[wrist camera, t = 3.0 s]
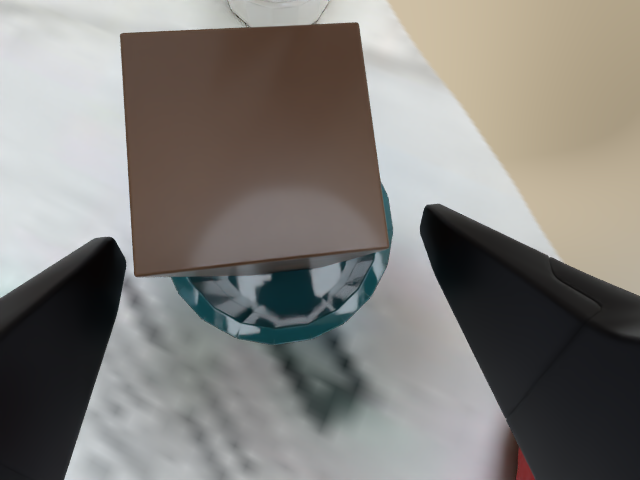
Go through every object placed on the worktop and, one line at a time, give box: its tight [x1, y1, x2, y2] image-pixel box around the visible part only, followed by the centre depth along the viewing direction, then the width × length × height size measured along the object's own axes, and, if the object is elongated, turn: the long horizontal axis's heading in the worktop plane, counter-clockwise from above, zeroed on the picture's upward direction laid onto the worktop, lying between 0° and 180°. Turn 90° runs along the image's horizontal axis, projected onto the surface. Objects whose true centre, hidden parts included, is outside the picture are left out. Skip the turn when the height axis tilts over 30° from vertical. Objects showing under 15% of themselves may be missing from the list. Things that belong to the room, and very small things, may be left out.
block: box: [120, 22, 389, 277], centre depth 12 cm, size 4×4×13 cm
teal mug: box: [171, 183, 393, 345], centre depth 17 cm, size 13×10×4 cm
